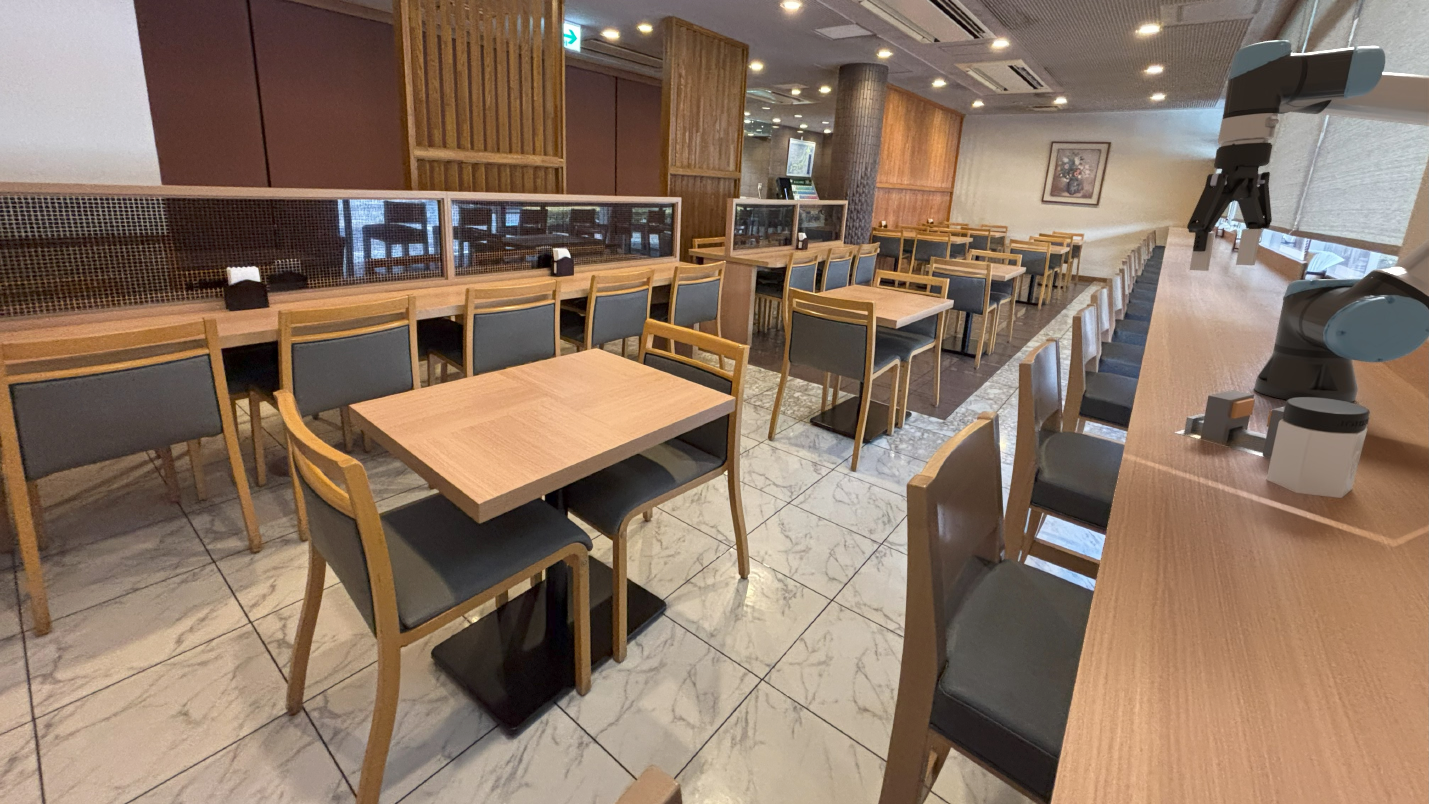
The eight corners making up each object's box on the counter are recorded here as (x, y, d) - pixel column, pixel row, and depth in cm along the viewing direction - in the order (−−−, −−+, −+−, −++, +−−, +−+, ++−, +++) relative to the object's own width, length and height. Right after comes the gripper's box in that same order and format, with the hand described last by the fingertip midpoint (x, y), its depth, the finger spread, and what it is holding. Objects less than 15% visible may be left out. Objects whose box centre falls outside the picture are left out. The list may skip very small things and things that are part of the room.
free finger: (1200, 436, 105) (1208, 395, 103) (1224, 430, 107) (1232, 389, 105) (1226, 443, 101) (1235, 401, 99) (1250, 436, 103) (1259, 395, 101)
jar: (1337, 507, 81) (1359, 419, 77) (1258, 487, 87) (1275, 405, 84) (1357, 489, 85) (1379, 405, 82) (1281, 471, 92) (1298, 393, 88)
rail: (1206, 427, 111) (1209, 411, 110) (1352, 464, 93) (1357, 445, 92) (1173, 435, 107) (1176, 419, 107) (1318, 475, 90) (1322, 456, 89)
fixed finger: (1311, 452, 96) (1322, 408, 94) (1287, 460, 94) (1297, 414, 92) (1281, 445, 100) (1291, 402, 98) (1257, 452, 97) (1266, 408, 95)
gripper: (1224, 140, 101) (1201, 273, 106) (1312, 140, 110) (1286, 263, 115) (1175, 146, 107) (1156, 271, 113) (1262, 146, 116) (1240, 262, 122)
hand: (1222, 267), depth 114 cm, fingers open, 13 cm apart
